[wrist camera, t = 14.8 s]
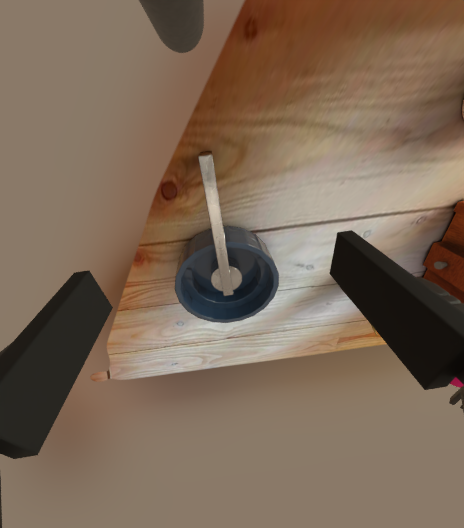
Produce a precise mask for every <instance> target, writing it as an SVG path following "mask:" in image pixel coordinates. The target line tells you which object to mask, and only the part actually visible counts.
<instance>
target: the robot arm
mask: <svg viewBox="0 0 464 528" xmlns="http://www.w3.org/2000/svg"><path fill="white" fill-rule="evenodd" d="M330 275H331V276H332V277H333V278H334V280H335V281H336V282H337V283H338V285H339V286H340V287H341V288H342V289H343V291H344V292H345V293H346V294H347V296H348V297H349V298H350V299H351V300H352V302H353V303H354V304H355V305H356V307H357V308H358V309H359V310H360V311H361V313H362V314H363V315H364V316H365V318H366V319H367V320H368V321H369V322H370V324H371V325H372V326H373V327H374V329H375V330H376V331H377V332H378V333H379V335H380V336H381V337H382V338H383V340H384V341H385V342H386V343H387V344H388V346H389V347H390V348H391V349H392V350H393V352H394V353H395V354H396V355H397V357H398V358H399V359H400V360H401V361H402V363H403V364H404V365H405V366H406V368H407V369H408V370H409V371H410V372H411V374H412V375H413V376H414V377H415V379H416V380H417V381H418V382H419V383H420V385H421V386H422V387H423V388H424V390H428V389H434V388H440V387H446V386H448V385H449V384H450V383H451V381H452V380H453V379H454V378H455V377H456V378H457V379H458V380H459V381H460V382H461V383H462V384H463V386H462V387H461V388H460V389H459V390H458V391H457V392H456V393H455V394H454V395H453V396H452V397H451V398H450V402H449V403H450V404H452V405H454V404H456V403H457V402H458V401H459V400H460V399H462V406H461V407H460V408H462V409H463V411H464V303H461V301H460V300H459V299H457V298H456V297H454V296H453V295H450V294H449V292H447V291H446V290H444V289H443V288H441V287H440V286H439V285H437V284H435V283H433V282H431V281H429V280H426V279H424V278H422V277H414V276H413V275H412V274H410V273H409V272H407V271H406V270H405V269H403V268H402V267H401V266H399V265H398V264H397V263H395V262H394V261H393V260H391V259H390V258H388V257H387V256H386V255H384V254H383V253H382V252H380V251H379V250H378V249H376V248H375V247H374V246H372V245H371V244H369V243H368V242H367V241H365V240H364V239H363V238H361V237H360V236H359V235H357V234H356V233H355V232H353V231H352V230H351V231H345V232H338V233H337V238H336V243H335V248H334V254H333V259H332V264H331V269H330ZM112 308H113V307H112V306H111V304H110V303H109V301H108V299H107V298H106V296H105V295H104V293H103V292H102V290H101V288H100V287H99V285H98V284H97V282H96V281H95V279H94V277H93V276H92V274H91V273H90V271H83V272H76V273H74V274H73V275H72V276H71V277H70V278H69V280H68V281H67V282H66V283H65V284H64V285H63V286H62V287H61V288H60V290H59V291H58V292H57V293H56V294H55V295H54V296H53V297H52V299H51V300H50V301H49V302H48V303H47V304H46V305H45V307H44V308H43V309H42V310H41V311H40V312H39V313H38V314H37V316H36V317H35V318H34V319H33V320H32V321H31V322H30V323H29V325H28V326H27V327H26V328H25V329H24V330H23V331H22V332H21V334H20V335H19V336H18V337H17V338H16V339H15V340H14V342H12V343H11V344H10V345H9V346H7V347H6V348H5V349H4V350H2V351H1V352H0V454H3V455H5V456H8V457H10V458H13V459H17V458H22V457H28V456H34V455H38V453H39V451H40V449H41V447H42V445H43V443H44V441H45V439H46V437H47V435H48V433H49V431H50V430H51V427H52V426H53V424H54V421H55V420H56V418H57V416H58V414H59V412H60V410H61V408H62V406H63V404H64V402H65V400H66V398H67V396H68V394H69V392H70V390H71V388H72V386H73V384H74V382H75V380H76V379H77V376H78V375H79V373H80V371H81V369H82V367H83V365H84V363H85V361H86V359H87V357H88V355H89V353H90V351H91V349H92V347H93V345H94V343H95V341H96V339H97V337H98V335H99V333H100V332H101V329H102V327H103V326H104V323H105V322H106V320H107V318H108V316H109V314H110V312H111V310H112ZM0 479H1V478H0ZM1 515H2V513H1V480H0V528H2V516H1Z"/></svg>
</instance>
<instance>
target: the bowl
mask: <svg viewBox="0 0 464 528" xmlns="http://www.w3.org/2000/svg"><path fill="white" fill-rule="evenodd" d="M223 229H224V235H225V242H226V248H227V255H228V257H231V258H233V259H235V260H236V261H237V262H238V264H239V266H240V270H241V274H242V282H241V284H240V285H239V286H238V287H237V288H236V289H234V290H233V295H227V296H224V294H223V291H219V290H217V289H216V288H215V287H214V286H213V285H212V283H211V266H212V264H213V262H214V261H216V260H217V256H216V251H215V245H214V240H213V234H212V229H208V230H206V231H204V232H202V233H200V234H198V235H196V236H195V237H194V238H193V239H192V240H191V241H189V242H188V243H187V244H186V245H185V247H184V249H183V251H182V253H181V255H180V258H179V263H178V268H177V273H176V280H175V291H176V294H177V297H178V299H179V302H180V303H181V304H182V305H183V307H184V308H185V309H186V310H187V311H188V312H190V313H191V314H193V315H195V316H196V317H198V318H200V319H204V320H207V321H211V322H220V323H229V322H235V321H241V320H244V319H246V318H249V317H251V316H254V315H255V314H257V313H258V312H260V311H261V310H263V309H264V308H265V307H266V306H267V305H268V304H269V303H270V301H271V300H272V299H273V298H274V296H275V293H276V291H277V288H278V285H279V273H278V271H277V268H276V266H275V264H274V261H273V259H272V257H271V255H270V253H269V251H268V249H267V247H266V245H265V243H264V242H263V241H262V240H261V239H260V238H259V237H258V236H257V235H256V234H254V233H252V232H249V231H247V230H245V229H243V228H238V227H231V226H223Z"/></svg>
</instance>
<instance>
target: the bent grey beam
mask: <svg viewBox="0 0 464 528" xmlns="http://www.w3.org/2000/svg"><path fill="white" fill-rule="evenodd" d="M198 158H199V164H200V169H201V175H202V180H203V185H204V191H205V196H206V202H207V207H208V213H209V218H210V223H211V229H212V234H213V240H214V245H215V251H216V256H217V260H216V261H214V262H213V264H212V266H211V283H212V285H213V286H214V287H215V288H216V289H217V290H219V291H223V294H224V296H227V295H233V290H234V289H236V288H237V287H238V286H239V285H240V284H241V282H242V274H241V270H240V266H239V264H238V262H237V261H236V260H235V259H233V258H231V257H228V255H227V248H226V242H225V235H224V229H223V222H222V215H221V209H220V202H219V196H218V189H217V182H216V176H215V169H214V163H213V156H212V151H206V152H201V153H200V155H199V156H198Z"/></svg>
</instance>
